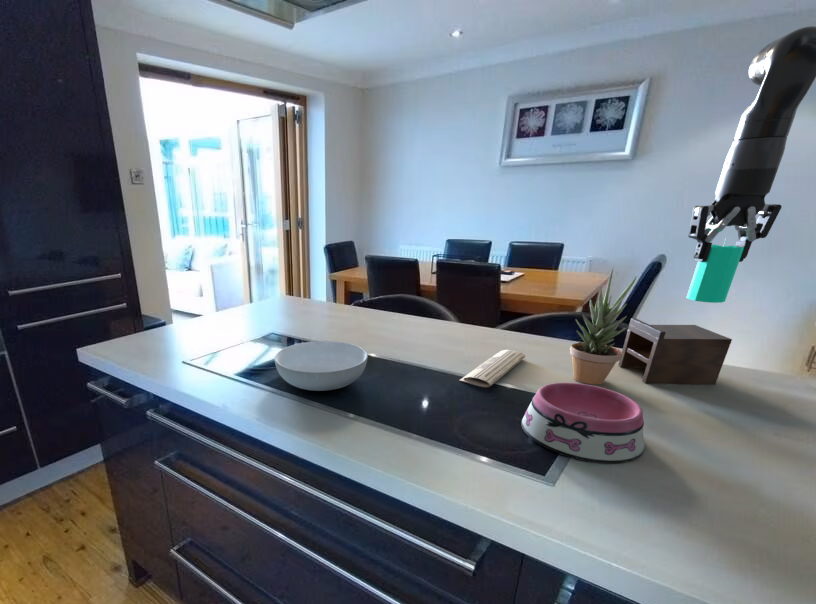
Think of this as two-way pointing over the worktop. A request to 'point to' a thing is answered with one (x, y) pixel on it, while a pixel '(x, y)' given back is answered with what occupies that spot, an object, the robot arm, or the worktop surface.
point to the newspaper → (493, 368)
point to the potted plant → (598, 340)
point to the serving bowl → (321, 364)
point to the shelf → (674, 353)
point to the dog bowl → (585, 423)
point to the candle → (715, 274)
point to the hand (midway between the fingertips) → (718, 261)
